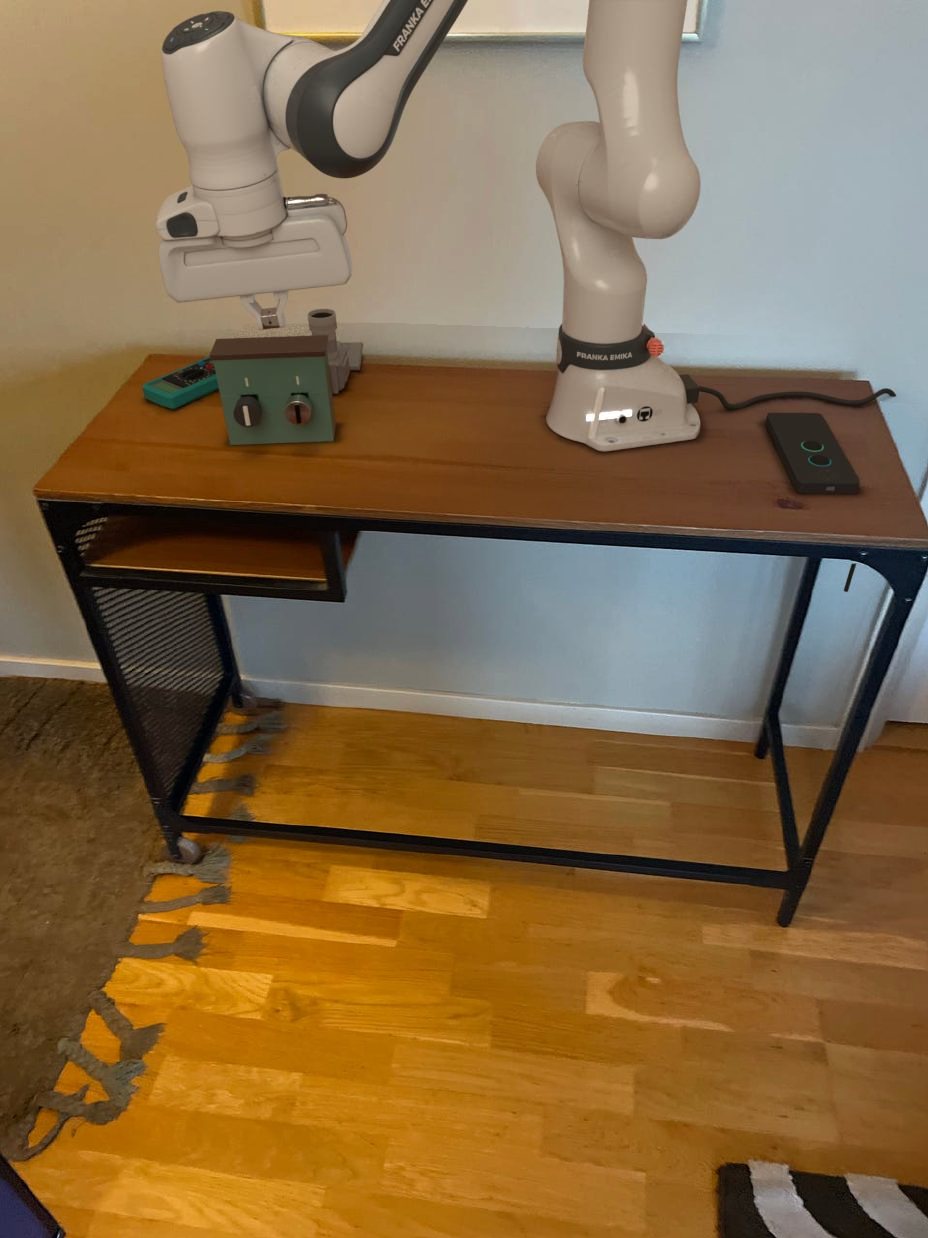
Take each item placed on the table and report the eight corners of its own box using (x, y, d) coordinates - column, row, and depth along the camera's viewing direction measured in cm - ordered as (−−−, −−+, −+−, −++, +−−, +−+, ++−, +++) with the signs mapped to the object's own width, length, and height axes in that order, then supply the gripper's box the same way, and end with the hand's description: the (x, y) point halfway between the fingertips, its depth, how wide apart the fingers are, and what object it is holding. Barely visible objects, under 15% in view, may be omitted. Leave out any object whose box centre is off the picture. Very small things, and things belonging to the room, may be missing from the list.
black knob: (261, 427, 126) (257, 403, 124) (235, 428, 126) (231, 404, 123) (266, 409, 130) (262, 385, 128) (241, 410, 130) (236, 386, 128)
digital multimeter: (245, 379, 149) (242, 362, 147) (172, 412, 140) (168, 395, 138) (216, 368, 153) (212, 351, 151) (142, 400, 144) (138, 383, 142)
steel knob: (312, 425, 126) (309, 401, 124) (286, 426, 126) (282, 402, 124) (315, 407, 130) (312, 384, 128) (290, 408, 130) (286, 385, 128)
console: (335, 442, 132) (325, 350, 123) (227, 446, 132) (209, 354, 123) (338, 424, 136) (327, 334, 128) (233, 428, 136) (215, 338, 127)
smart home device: (798, 482, 118) (765, 411, 134) (795, 493, 119) (762, 422, 135) (863, 482, 118) (822, 411, 133) (859, 494, 119) (819, 422, 134)
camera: (289, 321, 137) (305, 288, 149) (299, 394, 144) (313, 357, 156) (347, 320, 137) (358, 287, 149) (354, 394, 144) (364, 357, 156)
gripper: (342, 179, 96) (363, 303, 106) (150, 201, 96) (189, 322, 106) (341, 203, 92) (363, 329, 102) (139, 225, 92) (181, 349, 102)
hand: (272, 326), depth 104 cm, fingers closed
